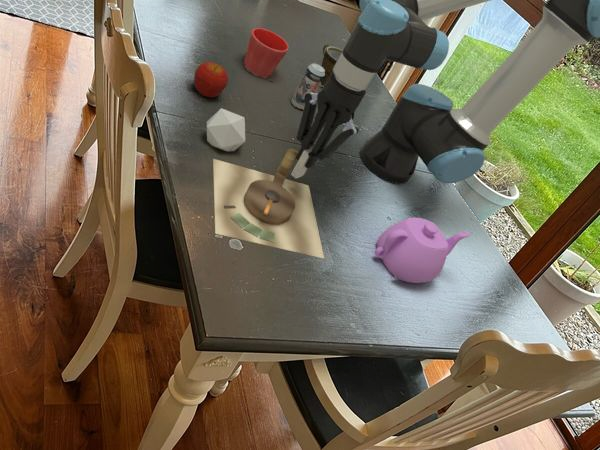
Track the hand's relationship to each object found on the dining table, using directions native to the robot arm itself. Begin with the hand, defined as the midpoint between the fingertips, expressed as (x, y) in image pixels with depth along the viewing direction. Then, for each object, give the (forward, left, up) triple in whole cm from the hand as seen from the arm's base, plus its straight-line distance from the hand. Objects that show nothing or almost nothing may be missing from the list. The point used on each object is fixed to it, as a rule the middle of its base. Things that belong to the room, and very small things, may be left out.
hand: (297, 175), depth 121 cm
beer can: (-8, -39, -5) cm, 40 cm away
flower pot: (+3, -51, -5) cm, 51 cm away
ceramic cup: (-19, -58, -5) cm, 61 cm away
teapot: (-26, +14, -5) cm, 30 cm away
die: (+15, -10, -5) cm, 19 cm away
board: (+6, +8, -5) cm, 11 cm away
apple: (+18, -30, -5) cm, 35 cm away
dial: (+5, +5, -3) cm, 8 cm away
